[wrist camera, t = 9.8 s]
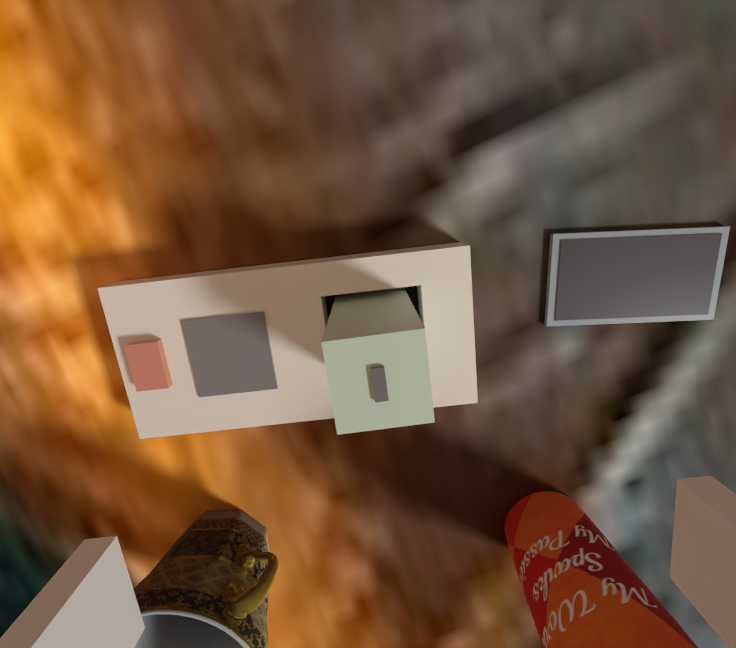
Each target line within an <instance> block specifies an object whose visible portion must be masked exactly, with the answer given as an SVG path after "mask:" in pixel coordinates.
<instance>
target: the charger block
mask: <svg viewBox="0 0 736 648" xmlns="http://www.w3.org/2000/svg"><path fill="white" fill-rule="evenodd" d="M321 343H322V349H323V355H324V361H325V366H326V372H327V378H328V384H329V390H330V396H331V401H332V407H333V413H334V419H335V425H336V431H337V435H340V434H348V433H356V432H363V431H371V430H379V429H387V428H395V427H403V426H411V425H419V424H427V423H435V420H434V410H433V400H432V391H431V381H430V372H429V362H428V352H427V343H426V333H425V327H424V325H423V323H422V321H421V320H420V318H419V316H418V314H417V312H416V310H415V308H414V306H413V304H412V302H411V300H410V298H409V296H408V294H407V292H406V290H405V288H404V287H401V288H392V289H384V290H377V291H369V292H362V293H355V294H347V295H340V296H336V297H335V300H334V303H333V306H332V310H331V313H330V316H329V319H328V322H327V326H326V329H325V332H324V335H323V338H322V342H321Z"/></svg>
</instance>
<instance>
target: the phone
mask: <svg viewBox="0 0 736 648" xmlns="http://www.w3.org/2000/svg"><path fill="white" fill-rule="evenodd" d="M729 230H730V227H728V226H718V227H694V228H671V229H647V230H624V231H600V232H577V233H553V234H550V247H549V262H548V277H547V291H546V306H545V321H544V325H545V326H569V325H594V324H618V323H642V322H667V321H691V320H714V314H715V309H716V303H717V297H718V292H719V286H720V280H721V275H722V269H723V264H724V258H725V252H726V247H727V241H728V235H729Z"/></svg>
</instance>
